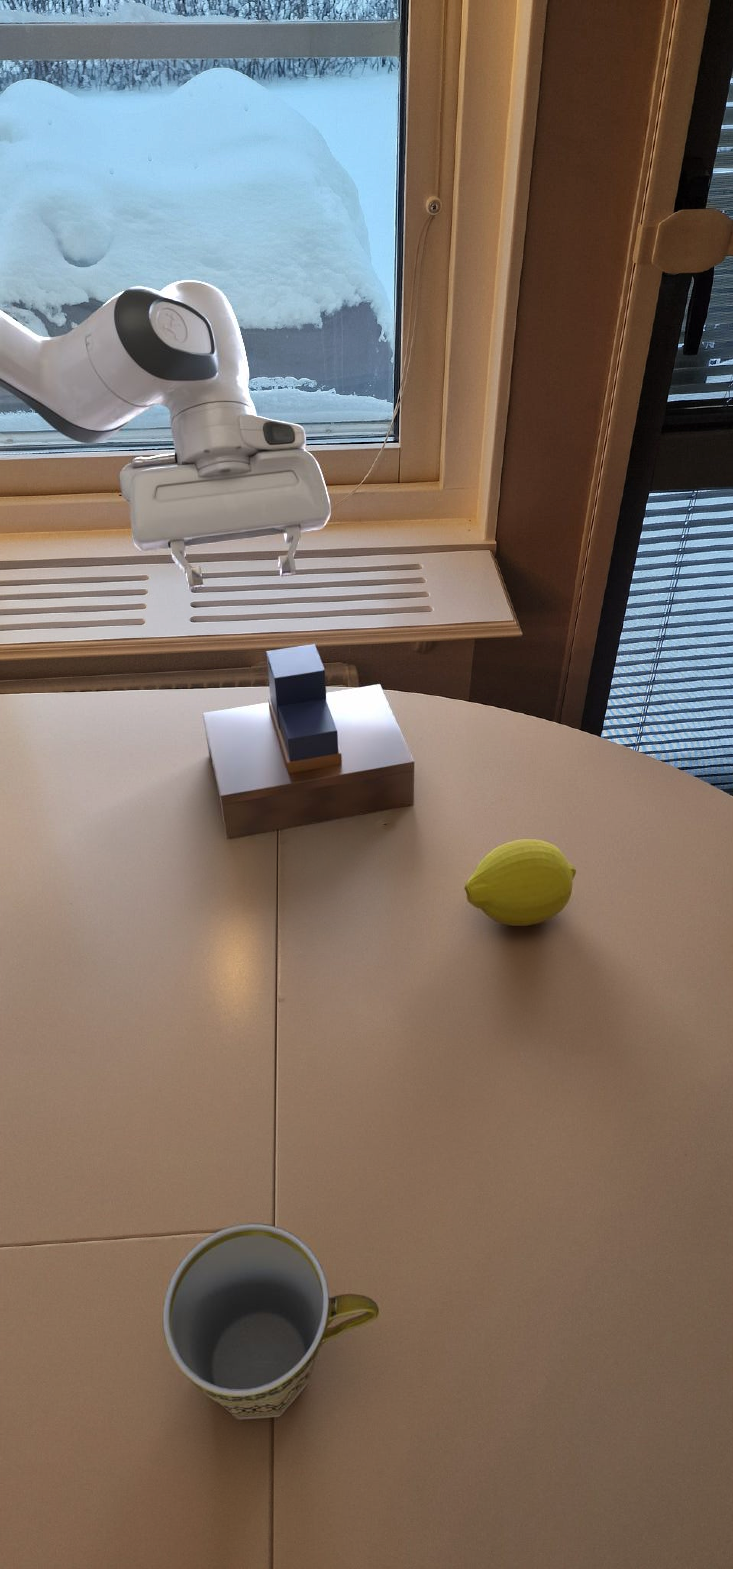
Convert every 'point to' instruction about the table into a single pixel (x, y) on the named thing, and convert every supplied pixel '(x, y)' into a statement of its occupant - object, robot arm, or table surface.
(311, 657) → the trainer
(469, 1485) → the table surface
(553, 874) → the lemon
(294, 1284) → the ceramic cup
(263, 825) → the shoe shelf
